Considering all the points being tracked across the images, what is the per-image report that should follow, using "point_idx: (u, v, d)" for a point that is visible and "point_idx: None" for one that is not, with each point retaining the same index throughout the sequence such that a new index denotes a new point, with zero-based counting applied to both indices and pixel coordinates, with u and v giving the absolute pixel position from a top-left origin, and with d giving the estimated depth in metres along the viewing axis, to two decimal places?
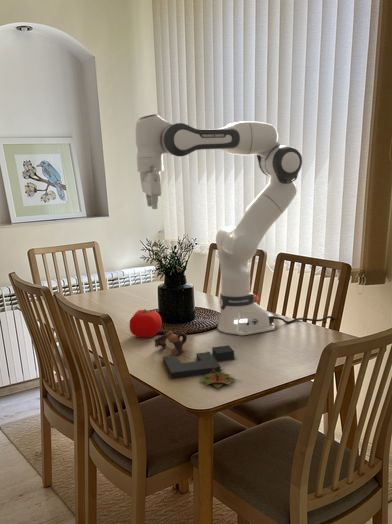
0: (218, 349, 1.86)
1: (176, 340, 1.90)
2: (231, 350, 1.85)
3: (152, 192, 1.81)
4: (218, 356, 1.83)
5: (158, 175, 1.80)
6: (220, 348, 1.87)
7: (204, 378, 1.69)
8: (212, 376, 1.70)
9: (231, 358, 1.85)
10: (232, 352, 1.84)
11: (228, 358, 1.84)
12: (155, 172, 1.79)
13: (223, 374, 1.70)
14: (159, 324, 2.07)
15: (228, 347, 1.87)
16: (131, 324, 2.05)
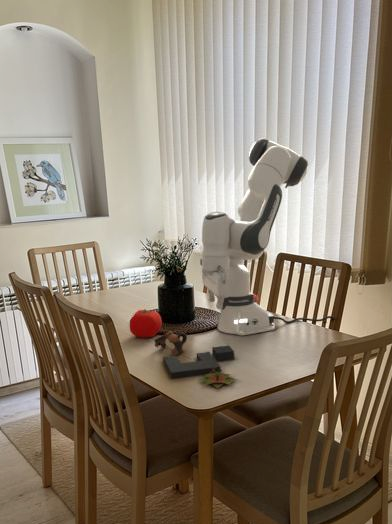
0: (218, 349, 1.86)
1: (176, 340, 1.90)
2: (231, 350, 1.85)
3: (220, 294, 1.71)
4: (218, 356, 1.83)
5: (226, 277, 1.70)
6: (220, 348, 1.87)
7: (204, 378, 1.69)
8: (212, 376, 1.70)
9: (231, 358, 1.85)
10: (232, 352, 1.84)
11: (228, 358, 1.84)
12: (224, 275, 1.69)
13: (223, 374, 1.70)
14: (159, 324, 2.07)
15: (228, 347, 1.87)
16: (131, 324, 2.05)
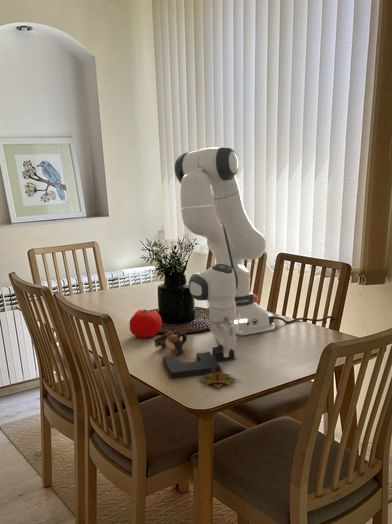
0: (218, 349, 1.86)
1: (176, 340, 1.90)
2: (231, 350, 1.85)
3: (227, 346, 1.75)
4: (218, 356, 1.83)
5: (233, 329, 1.74)
6: (220, 348, 1.87)
7: (204, 378, 1.69)
8: (212, 376, 1.70)
9: (231, 358, 1.85)
10: (232, 352, 1.84)
11: (228, 358, 1.84)
12: (231, 328, 1.73)
13: (223, 374, 1.70)
14: (159, 324, 2.07)
15: None
16: (131, 324, 2.05)
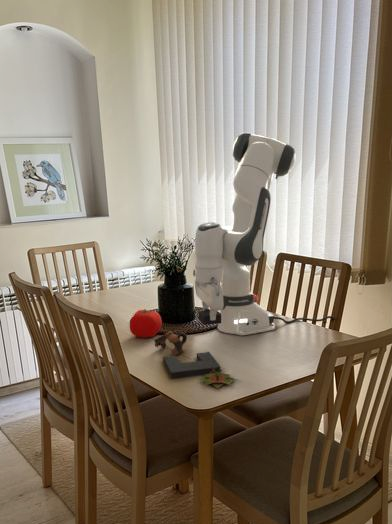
0: (205, 312, 1.79)
1: (176, 340, 1.90)
2: (218, 313, 1.78)
3: (214, 307, 1.68)
4: (205, 319, 1.76)
5: (220, 289, 1.67)
6: (207, 312, 1.79)
7: (204, 378, 1.69)
8: (212, 376, 1.70)
9: (218, 322, 1.77)
10: (219, 315, 1.77)
11: (215, 322, 1.77)
12: (218, 287, 1.66)
13: (223, 374, 1.70)
14: (159, 324, 2.07)
15: None
16: (131, 324, 2.05)
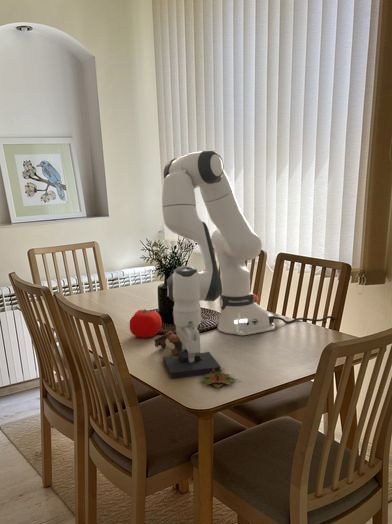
0: (184, 354, 1.81)
1: (176, 340, 1.90)
2: (196, 355, 1.80)
3: (191, 351, 1.70)
4: (183, 361, 1.78)
5: (197, 334, 1.70)
6: (186, 353, 1.82)
7: (204, 378, 1.69)
8: (212, 376, 1.70)
9: None
10: (198, 357, 1.79)
11: None
12: (194, 332, 1.68)
13: (223, 374, 1.70)
14: (159, 324, 2.07)
15: None
16: (131, 324, 2.05)
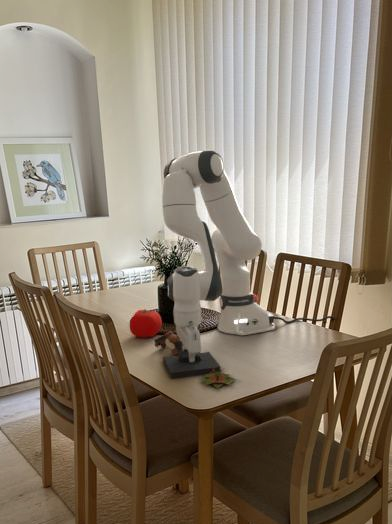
0: (184, 353, 1.81)
1: (176, 340, 1.90)
2: (197, 355, 1.80)
3: (191, 351, 1.70)
4: (184, 361, 1.78)
5: (198, 333, 1.70)
6: (186, 352, 1.82)
7: (204, 378, 1.69)
8: (212, 376, 1.70)
9: None
10: (198, 357, 1.79)
11: None
12: (195, 332, 1.68)
13: (223, 374, 1.70)
14: (159, 324, 2.07)
15: None
16: (131, 324, 2.05)
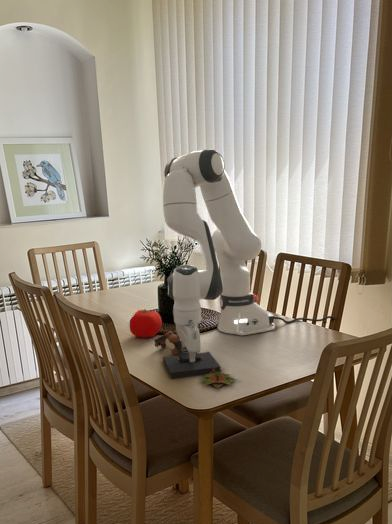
0: (184, 355, 1.81)
1: (176, 340, 1.90)
2: (197, 356, 1.80)
3: (191, 350, 1.70)
4: (184, 362, 1.79)
5: (197, 332, 1.70)
6: (187, 354, 1.82)
7: (204, 378, 1.69)
8: (212, 376, 1.70)
9: None
10: (198, 358, 1.79)
11: None
12: (195, 330, 1.68)
13: (223, 374, 1.70)
14: (159, 324, 2.07)
15: None
16: (131, 324, 2.05)
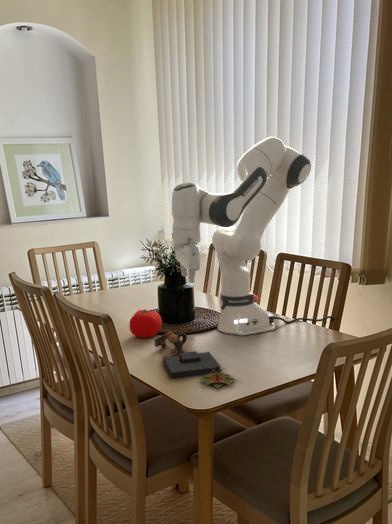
0: (184, 355, 1.81)
1: (176, 340, 1.90)
2: (197, 356, 1.80)
3: (190, 267, 1.68)
4: (184, 362, 1.79)
5: (197, 249, 1.67)
6: (187, 354, 1.82)
7: (204, 378, 1.69)
8: (212, 376, 1.70)
9: None
10: (198, 358, 1.79)
11: None
12: (194, 247, 1.66)
13: (223, 374, 1.70)
14: (159, 324, 2.07)
15: (195, 353, 1.83)
16: (131, 324, 2.05)
